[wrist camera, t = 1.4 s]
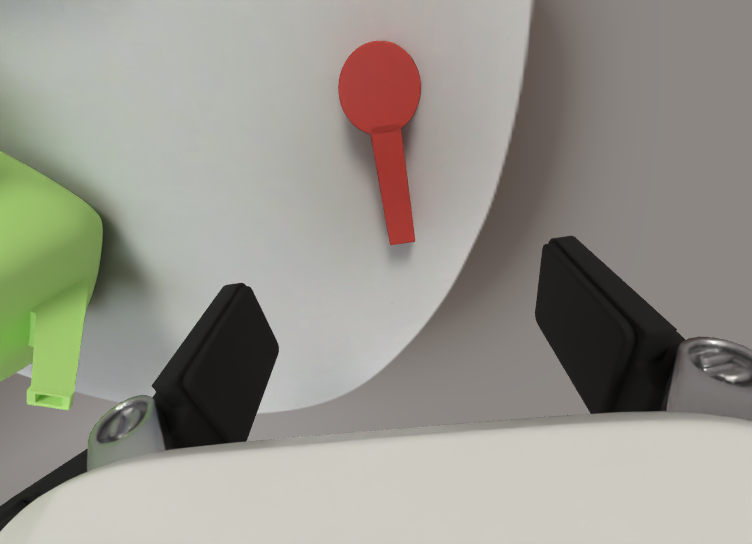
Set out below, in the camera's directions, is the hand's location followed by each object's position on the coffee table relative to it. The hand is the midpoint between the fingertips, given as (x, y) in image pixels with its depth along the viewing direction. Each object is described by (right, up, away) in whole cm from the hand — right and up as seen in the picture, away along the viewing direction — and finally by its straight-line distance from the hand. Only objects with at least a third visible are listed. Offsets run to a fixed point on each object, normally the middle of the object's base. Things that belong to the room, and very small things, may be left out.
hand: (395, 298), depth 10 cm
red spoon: (0, +8, +8) cm, 11 cm away
